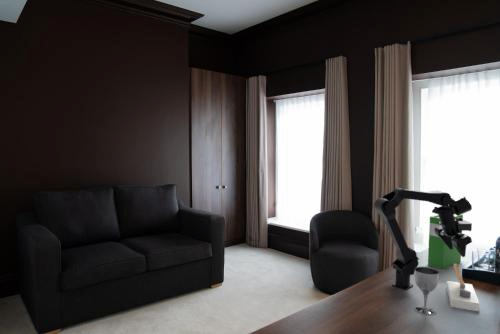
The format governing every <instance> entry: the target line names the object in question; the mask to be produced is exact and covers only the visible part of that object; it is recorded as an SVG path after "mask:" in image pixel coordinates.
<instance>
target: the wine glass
mask: <svg viewBox="0 0 500 334" xmlns="http://www.w3.org/2000/svg"><path fill="white" fill-rule="evenodd" d="M439 277H440V271H439V270H438V269H436V268H433V267H429V266H417V267H416V268H415V272H414V281H415V282H414V283H415V284H416V286H417V287H418V289H419V290H420V291H421V293H422V295H423V302H424V303H423V305H418V306H415V307H414V311H415V312H416V313H419V314H422V315H424V316H434V315H436V314H437V311H436V310H435V309H434V308H431V307H429V306H427V301H428V297H429V295H430V294H431V292H433V291H434V290H435V289H436V288H437V286H438V283H439Z"/></svg>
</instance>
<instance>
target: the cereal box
mask: <svg viewBox="0 0 500 334" xmlns="http://www.w3.org/2000/svg"><path fill="white" fill-rule="evenodd" d="M454 217H455V220H456V218H462V219H463V218H464V215H463V214H461V215H459V216H457V215H455V214H454ZM463 220H464V219H463ZM439 222H440V219H439V216H438V214H436V215H432V216H429V228H428V229H429V231H428V253H427V254H428V255H427V265H428V266H431V267H435V268H437V269H442V270H445V269H446V268H448V267H451V266H454V264H456V263H457V264H460V263H461V261H462V258H461V257H462V256H461V255H460V253H459V252H458V251H457V249H456V248H455V247H454V245H453V242H452V245H453V249H450V248H449V247H448V246H447V245H446V244H445V243H444V242H443V241H442V240H441V239H440V237H439V236H438V235H437V234H436V233H435V228H436V227H438V226H441V225H439ZM458 234H459V235H461V234H463V231H462V232H461V233H458ZM452 238H453V237H451V239H452Z"/></svg>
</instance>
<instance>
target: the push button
mask: <svg viewBox="0 0 500 334" xmlns="http://www.w3.org/2000/svg"><path fill="white" fill-rule="evenodd" d="M460 296H462V297H466V298H469V297H471V292H469V291H466V290H460Z"/></svg>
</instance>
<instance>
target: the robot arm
mask: <svg viewBox="0 0 500 334" xmlns="http://www.w3.org/2000/svg"><path fill="white" fill-rule="evenodd" d="M466 198H467V197H466V196H464V195H463V196H459V197H457V198H455V199H453V198H452V197H451V195H450V193H448V192H444V191H441V190H430V191H420V190H419V191H418V190H412V189H404V188H400V187H397V188H394V189H393V190H392V191H390V192H388V193H386V194H384V195H383V196H382V197H378V198H377V199H376V200H375V201H374V203H373V207H374V209H375V210H376V212H377V213H378V215H379V216H380V217H381V219H383V221H384V223H385V225H386V227H387V231H388V233H389V234H390V237H391V239H392V241H393V243H394V246H395V248H396V253H395V254H396V255H395V256H396V259H395V260H394V261H392V263H391V266H392V269H394V270H395V282H393V283H391V286H393V287H397V288H400V289H402V290H408V289H410V288H412V287H413V286H414V284H413V283H411V276H415V273H414V272H415V268H416V267H419V266H418V265H419V264H420V263H419V260H420V258H419V257H418V256H417V255H418V254H417V252H416V250H414V249H412V248H411V247H409V245H408V244H407V241H406V239H405V236H404V234H403V232H402V230H401V228H400V225H399V223H398V221H397V218H396V216H397V211H396V208H397V207H398V206H400V204H401V203H402V202H403V200H404V199H405V200H413V201H421V202H427V203H431V204H435V205H438V206H434V207H433V209H432V211H431V213H433V214H436V215H438V216H439V219H440V222H439V225H441V226H438V227H436V228H435V233H436V234H437V235H438V236H439V237H440V239H441V240H442V241H443V242H444V243H445V244H446V245H447V246H448V247H449V248H450V249H453V245H454V247H455V248H456V249H457V251H458V252H459V253H460V255H461V257H462V258H465V257H466V253H467V251H466V250H467V246H468V245H469V244H471V243H472V242H473V240H472V237H471V236H469V235H468V234H465V233H463V231H464V232H465V231H466V232H467V231H468V232H471V231H472V226H473V223H472V222H470V221H467V220H464V219H462V218H456V220H455V217H454V215H457V216H459V215H463V214H466V213H468V212H470V211H472V208H473V206H472V204H471V203H470V201H469V200H468V199H466ZM461 232H462V234H461V235H459V234H458V233H461ZM451 237H453V238H452V239H451ZM452 242H453V245H452Z"/></svg>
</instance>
